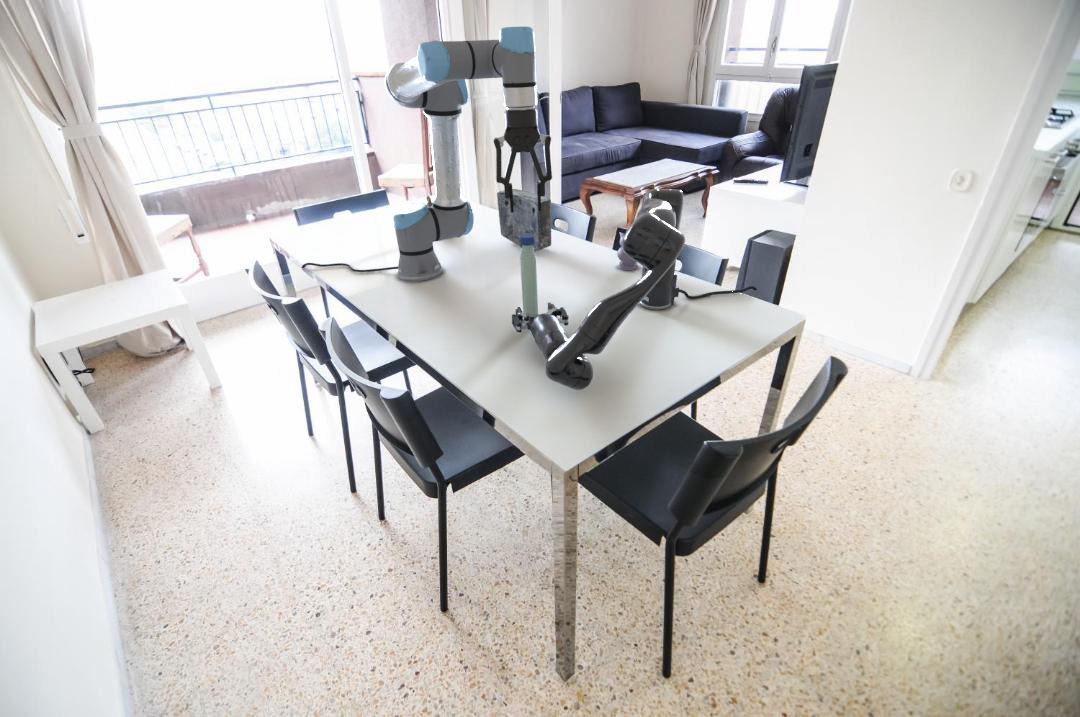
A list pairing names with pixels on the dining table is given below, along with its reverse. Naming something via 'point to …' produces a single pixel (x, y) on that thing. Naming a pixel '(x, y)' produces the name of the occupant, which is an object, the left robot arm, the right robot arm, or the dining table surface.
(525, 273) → the bottle
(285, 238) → the dining table surface
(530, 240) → the cap
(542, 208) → the concrete block
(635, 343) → the dining table surface
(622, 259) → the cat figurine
